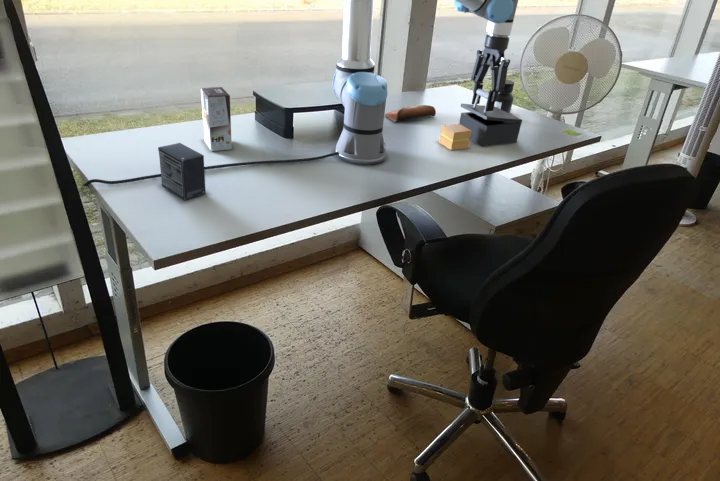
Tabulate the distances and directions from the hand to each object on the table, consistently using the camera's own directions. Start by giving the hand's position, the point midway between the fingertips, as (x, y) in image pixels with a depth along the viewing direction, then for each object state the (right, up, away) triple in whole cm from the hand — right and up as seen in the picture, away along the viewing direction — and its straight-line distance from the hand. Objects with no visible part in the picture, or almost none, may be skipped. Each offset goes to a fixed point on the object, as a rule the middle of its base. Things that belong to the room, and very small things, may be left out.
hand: (482, 107), depth 183 cm
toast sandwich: (-10, -13, -2) cm, 16 cm away
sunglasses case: (-22, +1, +19) cm, 30 cm away
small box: (-85, -32, -46) cm, 101 cm away
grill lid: (+4, -2, +3) cm, 5 cm away
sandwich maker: (+3, -9, +8) cm, 12 cm away
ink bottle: (+14, +6, +35) cm, 38 cm away
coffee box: (-83, -16, -19) cm, 87 cm away
